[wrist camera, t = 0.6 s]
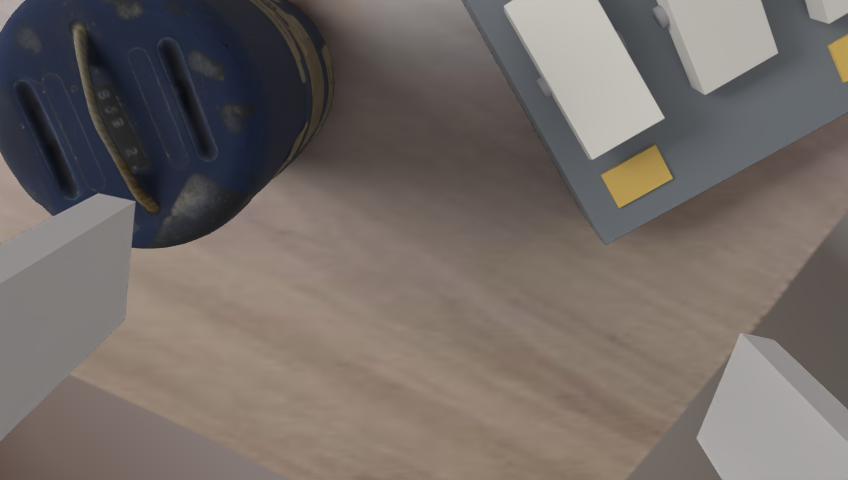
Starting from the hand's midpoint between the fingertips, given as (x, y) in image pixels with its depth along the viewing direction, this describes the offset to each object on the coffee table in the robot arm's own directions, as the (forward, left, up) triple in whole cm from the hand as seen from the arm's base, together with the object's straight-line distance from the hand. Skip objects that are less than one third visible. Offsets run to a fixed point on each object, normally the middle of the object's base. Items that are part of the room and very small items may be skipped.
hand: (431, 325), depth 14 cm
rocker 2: (0, +14, -19) cm, 24 cm away
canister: (-8, -7, -26) cm, 28 cm away
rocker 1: (0, +8, -19) cm, 21 cm away
